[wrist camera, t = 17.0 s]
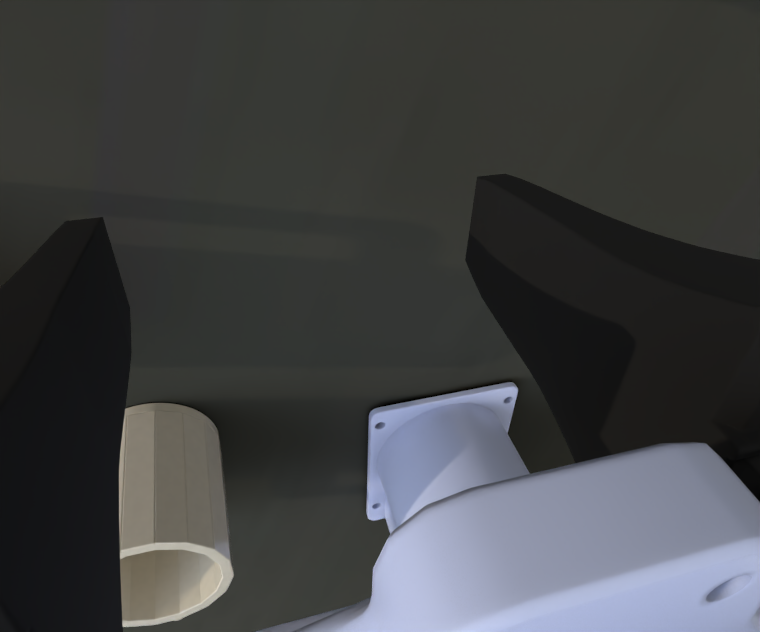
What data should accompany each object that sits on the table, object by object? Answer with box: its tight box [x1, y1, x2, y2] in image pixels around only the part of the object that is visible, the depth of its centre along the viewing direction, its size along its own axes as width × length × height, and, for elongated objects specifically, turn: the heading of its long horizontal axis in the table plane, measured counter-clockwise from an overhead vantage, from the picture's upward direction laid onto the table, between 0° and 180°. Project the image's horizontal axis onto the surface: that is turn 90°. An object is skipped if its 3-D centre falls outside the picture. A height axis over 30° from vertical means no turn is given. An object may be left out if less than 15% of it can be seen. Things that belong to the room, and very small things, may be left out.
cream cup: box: [119, 403, 234, 627], centre depth 26 cm, size 8×6×7 cm
